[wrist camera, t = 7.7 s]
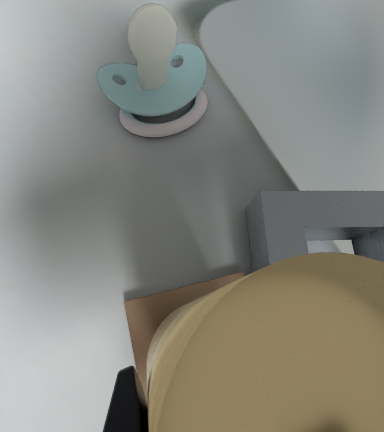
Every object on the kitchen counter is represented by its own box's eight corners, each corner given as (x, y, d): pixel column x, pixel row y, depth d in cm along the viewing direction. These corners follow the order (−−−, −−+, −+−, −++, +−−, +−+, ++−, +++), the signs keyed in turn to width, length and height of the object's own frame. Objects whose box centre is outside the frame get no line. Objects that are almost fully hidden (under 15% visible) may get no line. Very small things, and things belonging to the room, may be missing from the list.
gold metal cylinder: (265, 369, 16) (629, 508, 4) (183, 440, 14) (380, 1031, 2) (208, 285, 17) (361, 192, 5) (126, 342, 15) (64, 409, 3)
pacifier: (222, 121, 22) (186, 57, 23) (248, 52, 16) (197, -29, 17) (127, 156, 20) (94, 85, 21) (116, 93, 14) (71, 0, 16)
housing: (409, 352, 18) (457, 358, 15) (262, 361, 17) (282, 370, 14) (374, 208, 21) (408, 191, 18) (245, 209, 20) (260, 190, 17)
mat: (279, 399, 16) (283, 402, 16) (151, 443, 15) (151, 448, 15) (241, 272, 18) (243, 271, 18) (125, 302, 17) (124, 301, 17)
